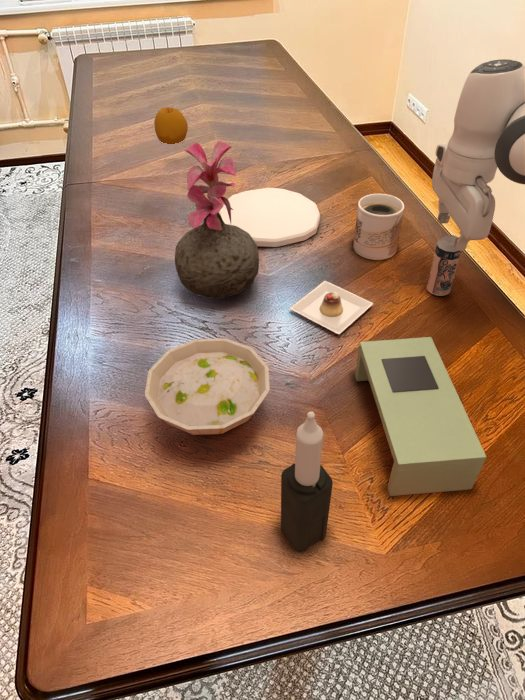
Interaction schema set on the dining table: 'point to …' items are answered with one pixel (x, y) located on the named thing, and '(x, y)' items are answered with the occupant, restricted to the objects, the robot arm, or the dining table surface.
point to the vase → (214, 234)
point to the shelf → (420, 417)
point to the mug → (378, 226)
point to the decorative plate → (273, 216)
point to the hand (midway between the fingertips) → (450, 234)
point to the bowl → (207, 385)
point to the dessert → (331, 307)
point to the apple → (170, 125)
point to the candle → (306, 490)
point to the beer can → (443, 266)
